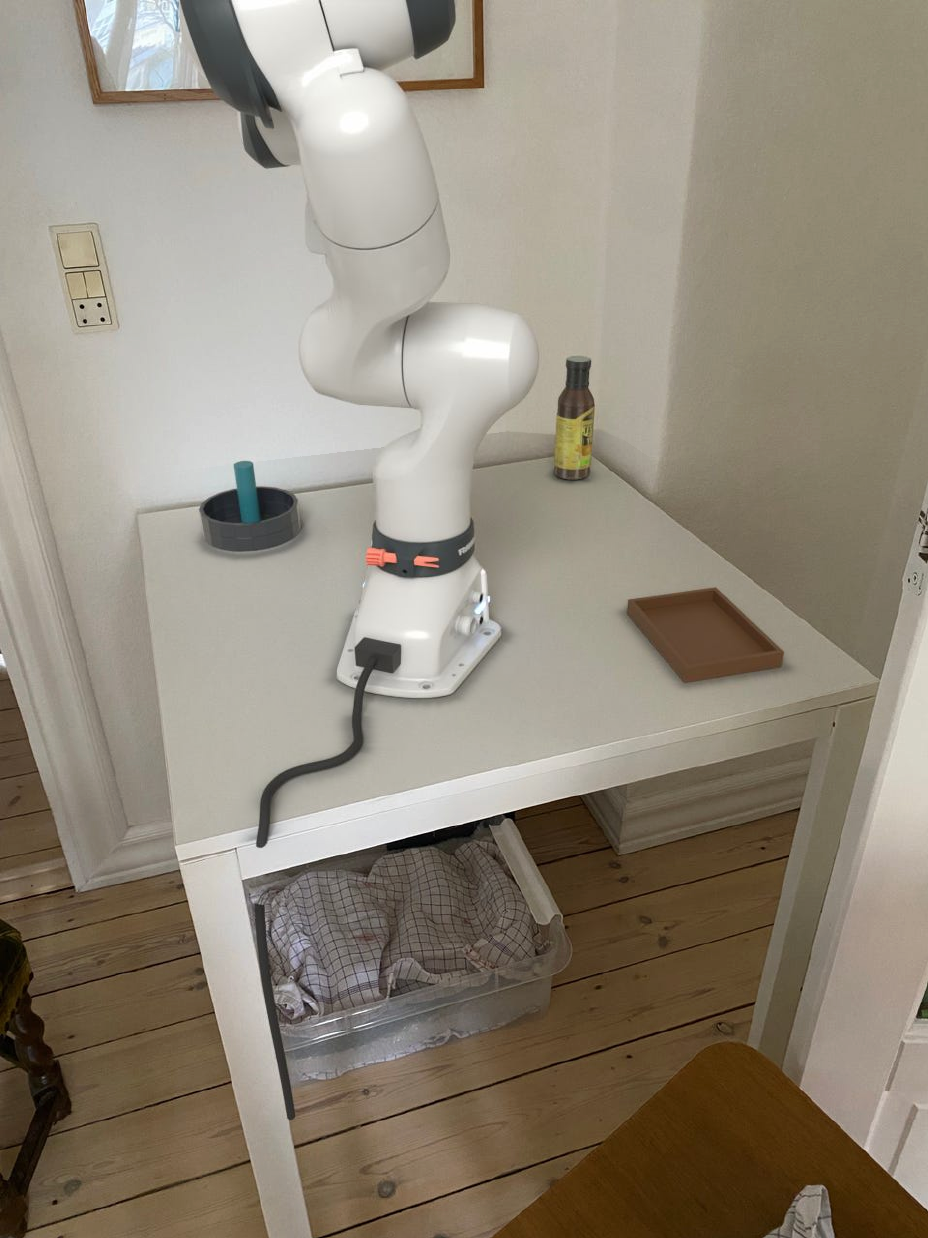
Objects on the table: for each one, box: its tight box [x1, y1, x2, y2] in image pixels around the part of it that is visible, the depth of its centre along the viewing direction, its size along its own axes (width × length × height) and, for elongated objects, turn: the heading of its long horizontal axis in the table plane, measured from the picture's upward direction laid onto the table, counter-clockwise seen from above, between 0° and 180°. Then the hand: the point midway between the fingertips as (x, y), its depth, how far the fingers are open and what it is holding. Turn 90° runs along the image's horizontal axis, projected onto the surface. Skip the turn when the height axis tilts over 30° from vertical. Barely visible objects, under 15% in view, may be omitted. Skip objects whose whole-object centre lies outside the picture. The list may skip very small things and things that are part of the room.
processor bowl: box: [198, 485, 302, 553], centre depth 137 cm, size 14×14×5 cm
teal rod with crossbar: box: [233, 460, 262, 523], centre depth 135 cm, size 8×8×10 cm
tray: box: [626, 587, 785, 684], centre depth 111 cm, size 16×12×2 cm
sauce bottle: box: [553, 355, 596, 481], centre depth 153 cm, size 6×6×20 cm
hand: (363, 293), depth 129 cm, fingers open, 8 cm apart
